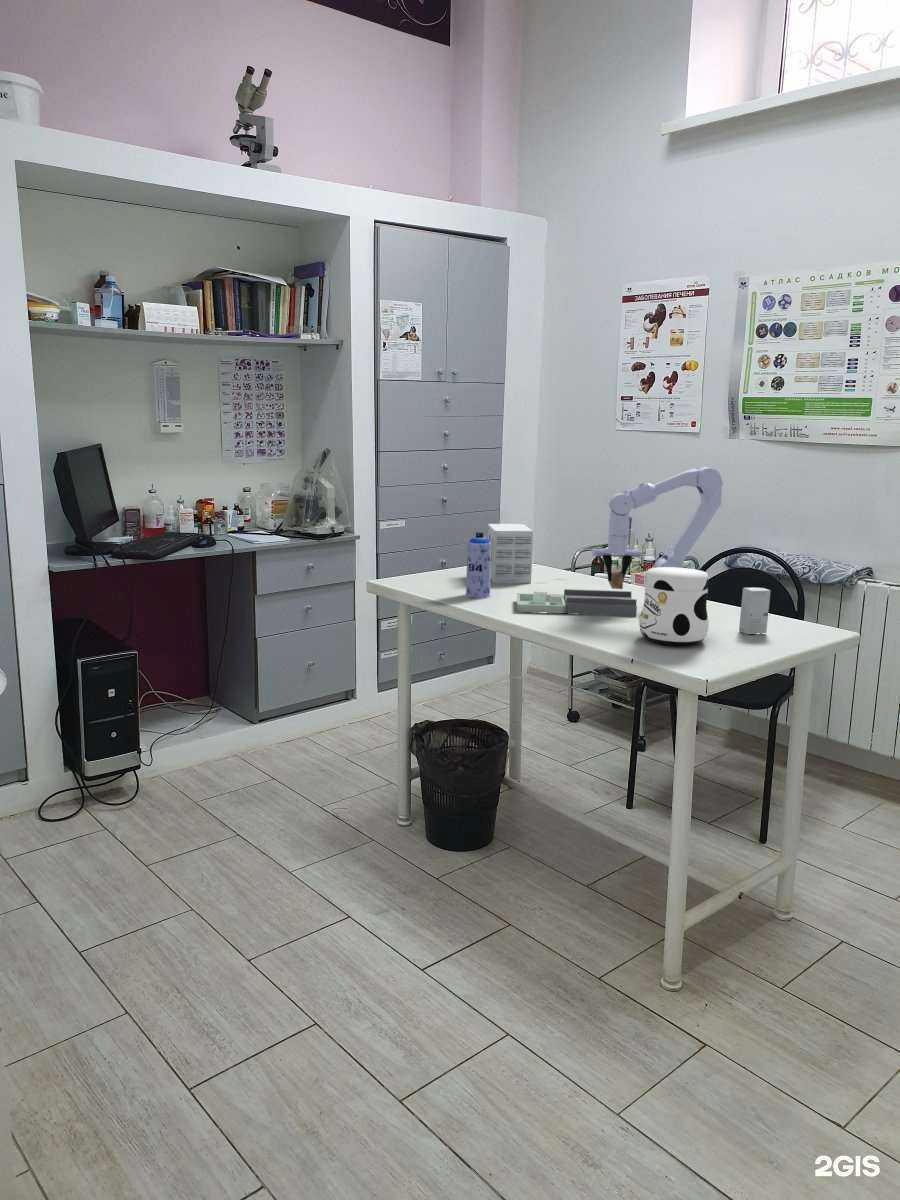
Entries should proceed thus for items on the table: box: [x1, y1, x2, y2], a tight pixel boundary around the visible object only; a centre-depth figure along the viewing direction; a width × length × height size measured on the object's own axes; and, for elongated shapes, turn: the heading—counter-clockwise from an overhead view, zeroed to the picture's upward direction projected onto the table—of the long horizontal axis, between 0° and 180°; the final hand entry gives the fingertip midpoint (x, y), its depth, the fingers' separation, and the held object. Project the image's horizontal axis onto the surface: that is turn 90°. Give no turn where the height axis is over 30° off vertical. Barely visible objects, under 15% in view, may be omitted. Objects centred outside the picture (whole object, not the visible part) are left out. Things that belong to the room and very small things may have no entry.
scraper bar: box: [608, 568, 624, 590], centre depth 267 cm, size 3×9×4 cm, turn 176°
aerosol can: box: [465, 532, 491, 599], centre depth 283 cm, size 8×8×20 cm
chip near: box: [549, 593, 561, 605], centre depth 266 cm, size 4×4×3 cm
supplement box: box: [487, 523, 534, 584], centre depth 312 cm, size 17×13×18 cm
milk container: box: [638, 567, 710, 646], centre depth 233 cm, size 17×17×18 cm
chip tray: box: [516, 592, 566, 613], centre depth 270 cm, size 14×16×2 cm
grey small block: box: [532, 591, 548, 605], centre depth 274 cm, size 4×4×3 cm
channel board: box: [563, 588, 638, 617], centre depth 269 cm, size 20×15×4 cm
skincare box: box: [738, 587, 771, 635], centre depth 243 cm, size 6×4×12 cm
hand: (615, 581), depth 267 cm, fingers closed on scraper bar, 3 cm apart
